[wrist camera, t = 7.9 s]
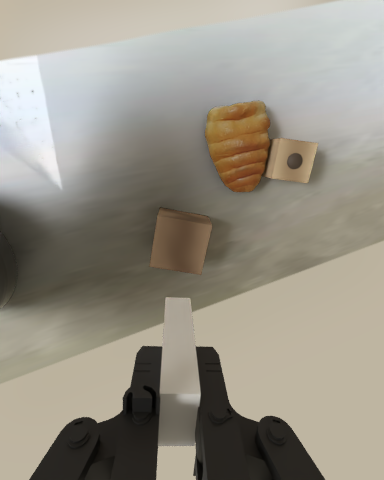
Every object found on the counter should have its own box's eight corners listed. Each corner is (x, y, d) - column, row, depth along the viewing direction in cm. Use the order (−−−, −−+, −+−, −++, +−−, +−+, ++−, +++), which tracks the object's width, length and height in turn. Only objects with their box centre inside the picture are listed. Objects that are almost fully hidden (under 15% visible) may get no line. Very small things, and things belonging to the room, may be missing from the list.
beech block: (260, 175, 31) (272, 178, 27) (267, 140, 30) (280, 137, 26) (292, 179, 31) (308, 183, 27) (300, 144, 30) (318, 143, 26)
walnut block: (152, 252, 33) (149, 266, 29) (160, 207, 32) (157, 215, 27) (198, 259, 34) (201, 274, 30) (207, 216, 32) (212, 225, 28)
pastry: (268, 184, 31) (281, 189, 27) (213, 196, 31) (219, 202, 27) (260, 98, 28) (274, 90, 24) (199, 110, 28) (204, 105, 24)
